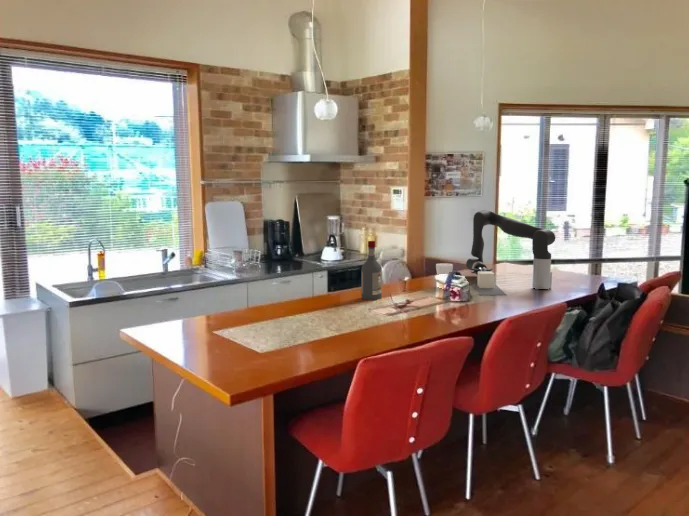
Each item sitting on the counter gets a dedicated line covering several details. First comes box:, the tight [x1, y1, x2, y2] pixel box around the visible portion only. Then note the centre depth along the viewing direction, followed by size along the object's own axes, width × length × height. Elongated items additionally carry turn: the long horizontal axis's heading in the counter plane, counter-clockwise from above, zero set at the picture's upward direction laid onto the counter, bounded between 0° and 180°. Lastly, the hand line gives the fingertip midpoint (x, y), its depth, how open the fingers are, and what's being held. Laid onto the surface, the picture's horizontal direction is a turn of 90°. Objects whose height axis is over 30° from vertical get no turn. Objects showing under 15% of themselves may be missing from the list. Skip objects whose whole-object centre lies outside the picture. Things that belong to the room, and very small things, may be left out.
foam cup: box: [435, 263, 454, 276], centre depth 332 cm, size 10×9×13 cm
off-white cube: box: [476, 271, 496, 288], centre depth 331 cm, size 8×8×8 cm
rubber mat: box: [471, 284, 507, 296], centre depth 323 cm, size 28×14×1 cm, turn 177°
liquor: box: [360, 240, 383, 301], centre depth 302 cm, size 9×9×30 cm
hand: (484, 273), depth 334 cm, fingers closed
